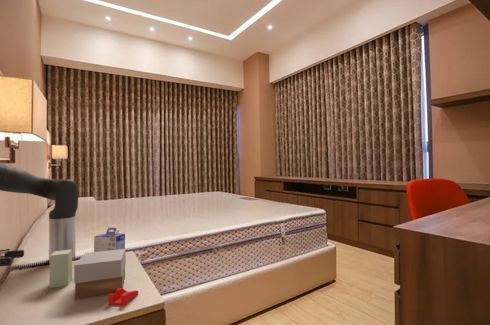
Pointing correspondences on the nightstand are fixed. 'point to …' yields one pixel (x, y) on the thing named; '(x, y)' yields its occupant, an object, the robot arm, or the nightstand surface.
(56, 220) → the robot arm
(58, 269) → the sage green tall block
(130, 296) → the red lumpy piece
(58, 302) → the nightstand surface
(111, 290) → the walnut base block
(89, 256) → the slate grey top block
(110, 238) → the ink cartridge box
